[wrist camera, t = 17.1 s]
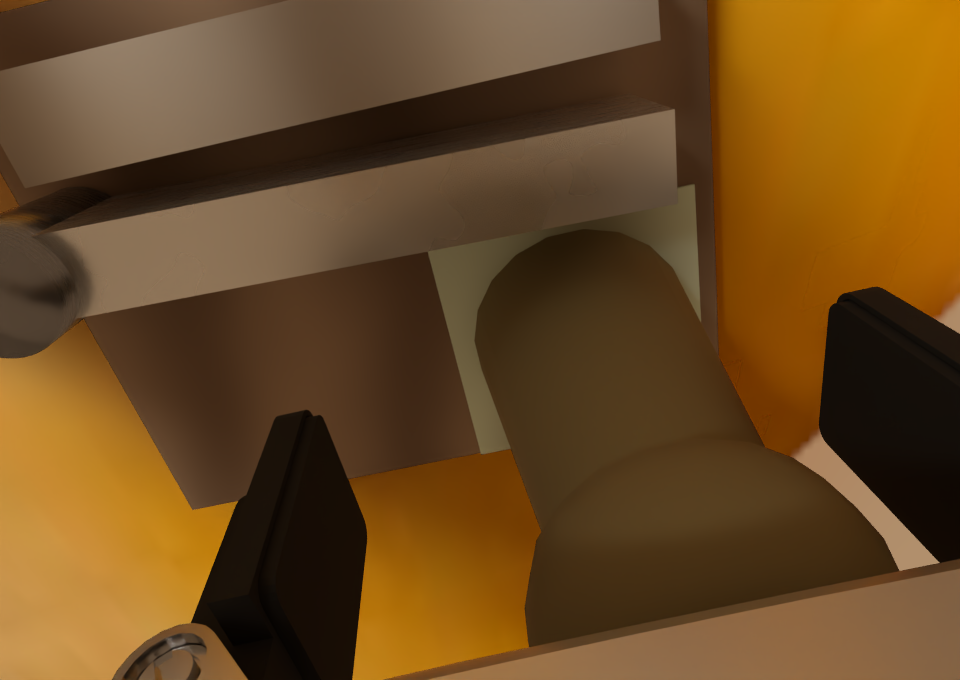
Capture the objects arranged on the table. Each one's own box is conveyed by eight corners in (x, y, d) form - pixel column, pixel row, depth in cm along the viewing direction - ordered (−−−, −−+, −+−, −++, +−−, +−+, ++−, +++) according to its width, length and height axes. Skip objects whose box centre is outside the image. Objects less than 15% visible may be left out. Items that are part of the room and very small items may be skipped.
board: (205, 484, 21) (151, 585, 17) (-40, 32, 14) (-215, 32, 10) (705, 384, 20) (765, 468, 16) (681, -148, 13) (771, -219, 10)
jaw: (68, 296, 16) (-36, 368, 12) (15, 197, 15) (-117, 248, 11) (635, 186, 15) (688, 232, 12) (628, 74, 14) (685, 89, 10)
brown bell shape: (440, 278, 16) (426, 658, 6) (659, 193, 15) (1031, 478, 6) (516, 446, 19) (590, 899, 9) (707, 382, 18) (1015, 800, 8)
